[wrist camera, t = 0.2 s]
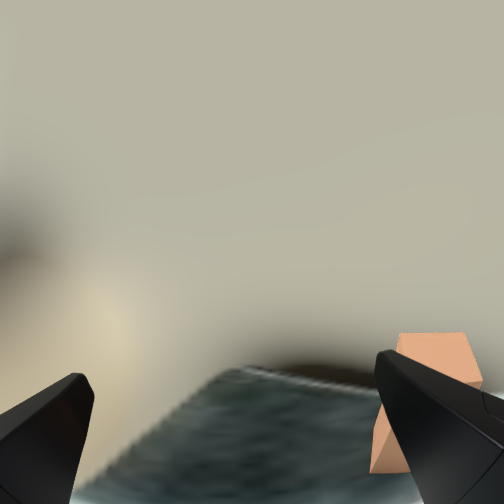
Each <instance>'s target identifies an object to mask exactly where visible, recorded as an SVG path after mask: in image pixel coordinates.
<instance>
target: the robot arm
mask: <svg viewBox="0 0 504 504" xmlns="http://www.w3.org/2000/svg"><path fill="white" fill-rule="evenodd" d="M374 380H375V383H376V386H377V389H378V392H379V395H380V398H381V401H382V404H383V407H384V410H385V413H386V416H387V419H388V421H389V424H390V426H391V428H392V430H393V433H394V435H395V437H396V439H397V441H398V444H399V446H400V448H401V450H402V452H403V455H404V457H405V459H406V462H407V464H408V466H409V468H410V471H411V473H412V475H413V478H414V480H415V483H416V485H417V487H418V490H419V492H420V495H421V497H422V500H423V502H424V504H504V400H503V399H501V398H498V397H496V396H493V395H491V394H488V393H486V392H484V391H482V392H481V390H479V389H477V388H475V387H472V386H470V385H468V384H466V383H463V382H461V381H459V380H457V379H454V378H452V377H450V376H448V375H445V374H443V373H441V372H439V371H437V370H434V369H432V368H430V367H428V366H426V365H424V364H421V363H419V362H417V361H415V360H413V359H411V358H409V357H406V356H404V355H402V354H400V353H398V352H396V351H394V350H390V349H389V350H385V351H381V352H379V353H378V354H377V357H376V364H375V369H374ZM93 403H94V392H93V390H92V388H91V386H90V384H89V382H88V380H87V378H86V376H85V375H84V374H82V373H71V374H70V375H68V376H66V377H64V378H63V379H61V380H59V381H58V382H56V383H54V384H53V385H51V386H49V387H47V388H46V389H44V390H42V391H41V392H39V393H37V394H36V395H34V396H32V397H30V398H29V399H27V400H25V401H23V402H22V403H20V404H18V405H16V406H15V407H13V408H11V409H10V410H8V411H6V412H4V413H3V414H1V415H0V504H69V502H70V498H71V493H72V489H73V485H74V481H75V476H76V473H77V469H78V465H79V462H80V458H81V454H82V451H83V447H84V444H85V441H86V437H87V432H88V427H89V422H90V417H91V413H92V408H93Z"/></svg>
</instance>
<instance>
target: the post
mask: <svg viewBox="0 0 504 504" xmlns="http://www.w3.org/2000/svg"><path fill="white" fill-rule="evenodd" d="M396 352H398V353H400V354H402V355H404V356H406V357H409V358H411V359H413V360H415V361H417V362H419V363H421V364H424V365H426V366H428V367H430V368H432V369H434V370H437V371H439V372H441V373H443V374H445V375H448V376H450V377H452V378H454V379H457V380H459V381H461V382H463V383H466V384H468V385H470V386H472V387H475V388H477V389H479V388H480V386H481V384H482V382H483V379H482V376H481V373H480V370H479V368H478V365H477V363H476V360H475V357H474V355H473V352H472V350H471V348H470V345H469V343H468V341H467V338H466V336H465V334H464V332H454V333H400V336H399V340H398V345H397V350H396ZM406 472H411V471H410V468H409V466H408V464H407V462H406V459H405V457H404V455H403V452H402V450H401V448H400V446H399V444H398V441H397V439H396V437H395V435H394V433H393V430H392V428H391V426H390V424H389V421H388V419H387V416H386V413H385V410H384V407H383V404H382V405H381V408H380V411H379V415H378V418H377V421H376V423H375V426H374V434H373V447H372V458H371V467H370V473H406Z"/></svg>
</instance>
